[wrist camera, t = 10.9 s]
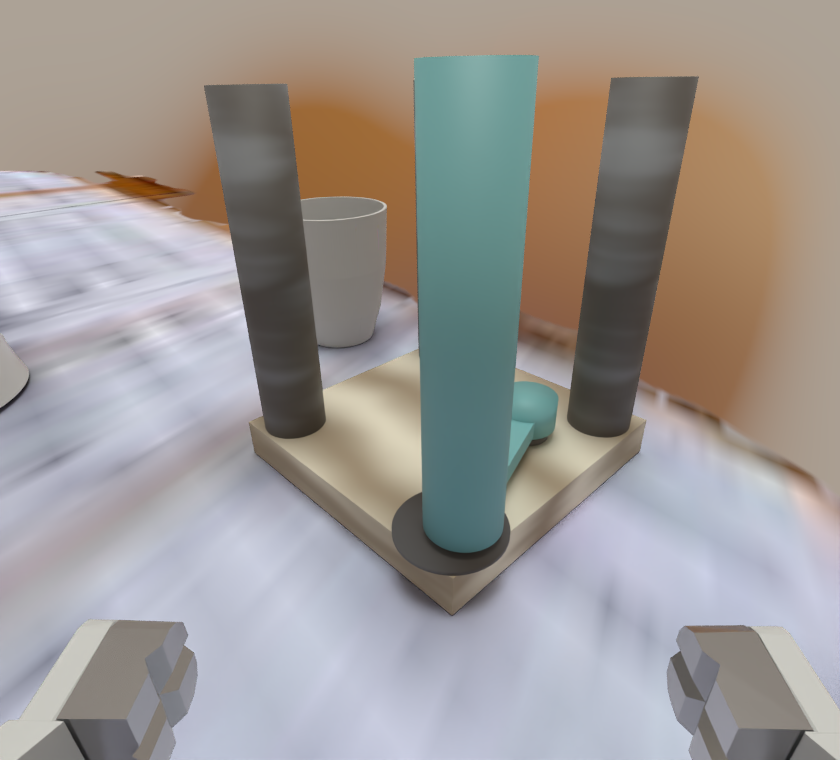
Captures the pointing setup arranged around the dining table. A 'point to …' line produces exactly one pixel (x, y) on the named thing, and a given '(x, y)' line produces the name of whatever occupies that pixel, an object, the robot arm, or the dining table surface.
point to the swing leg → (473, 290)
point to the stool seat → (400, 378)
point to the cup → (345, 266)
